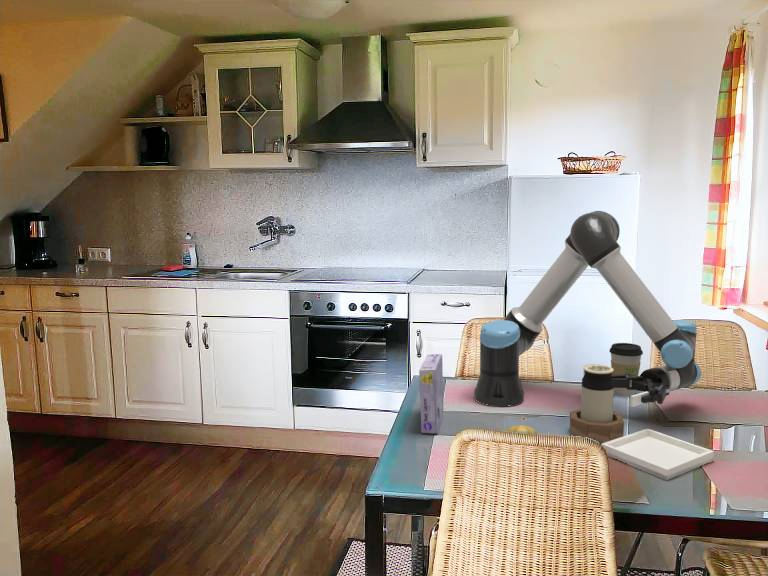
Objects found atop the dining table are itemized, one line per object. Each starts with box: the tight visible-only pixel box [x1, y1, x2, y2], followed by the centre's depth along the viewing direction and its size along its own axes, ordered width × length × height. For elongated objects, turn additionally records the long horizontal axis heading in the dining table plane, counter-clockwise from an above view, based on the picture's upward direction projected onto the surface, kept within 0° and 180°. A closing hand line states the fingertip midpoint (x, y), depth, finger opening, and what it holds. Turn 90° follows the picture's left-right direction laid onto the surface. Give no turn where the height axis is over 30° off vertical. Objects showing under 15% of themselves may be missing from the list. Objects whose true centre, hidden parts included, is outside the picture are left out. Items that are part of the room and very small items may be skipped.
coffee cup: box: [609, 342, 644, 397], centre depth 209 cm, size 10×10×15 cm
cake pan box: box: [418, 353, 445, 435], centre depth 185 cm, size 19×5×18 cm, turn 169°
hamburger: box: [506, 415, 538, 434], centre depth 155 cm, size 8×7×12 cm
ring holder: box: [569, 407, 625, 443], centre depth 176 cm, size 13×13×5 cm
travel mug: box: [580, 363, 615, 423], centre depth 175 cm, size 8×8×18 cm
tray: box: [600, 427, 715, 481], centre depth 161 cm, size 18×18×2 cm
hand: (609, 394), depth 176 cm, fingers open, 13 cm apart
